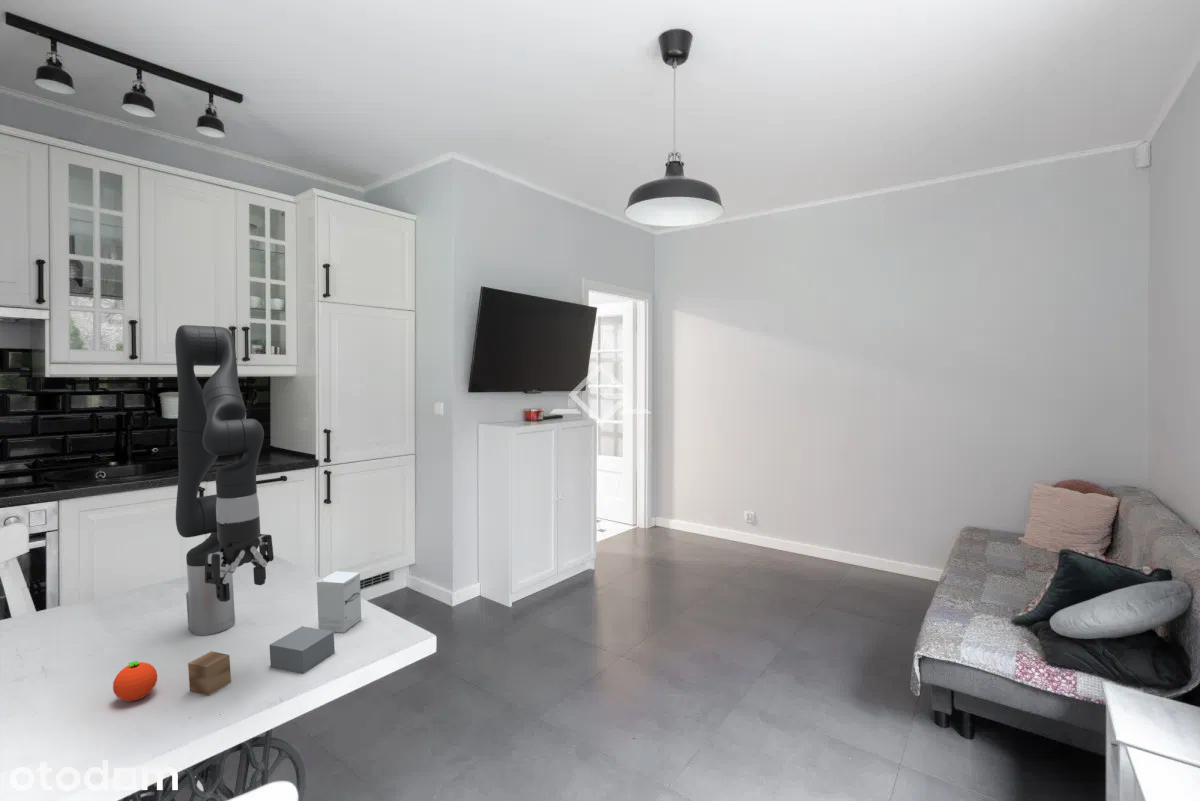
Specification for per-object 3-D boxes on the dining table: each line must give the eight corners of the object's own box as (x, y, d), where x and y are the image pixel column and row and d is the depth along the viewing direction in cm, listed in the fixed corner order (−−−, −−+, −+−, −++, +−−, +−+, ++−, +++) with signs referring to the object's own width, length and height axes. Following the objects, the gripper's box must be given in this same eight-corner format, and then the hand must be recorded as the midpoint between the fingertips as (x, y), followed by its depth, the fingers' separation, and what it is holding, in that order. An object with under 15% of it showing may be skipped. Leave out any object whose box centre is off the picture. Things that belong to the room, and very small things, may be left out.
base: (270, 666, 126) (269, 644, 126) (303, 647, 135) (302, 626, 134) (303, 673, 123) (302, 650, 123) (334, 652, 132) (333, 631, 132)
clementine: (110, 696, 115) (107, 662, 115) (153, 682, 121) (150, 649, 120) (117, 713, 110) (114, 677, 110) (162, 697, 115) (160, 662, 115)
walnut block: (189, 691, 117) (188, 663, 117) (212, 678, 122) (211, 651, 121) (208, 695, 116) (206, 667, 115) (231, 682, 120) (229, 654, 120)
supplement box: (344, 633, 141) (342, 583, 140) (317, 630, 143) (315, 581, 142) (362, 620, 148) (360, 572, 147) (337, 617, 150) (334, 570, 149)
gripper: (252, 506, 127) (256, 577, 128) (191, 524, 113) (196, 604, 115) (280, 508, 125) (284, 581, 126) (221, 527, 111) (226, 609, 113)
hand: (242, 592), depth 120 cm, fingers open, 8 cm apart
